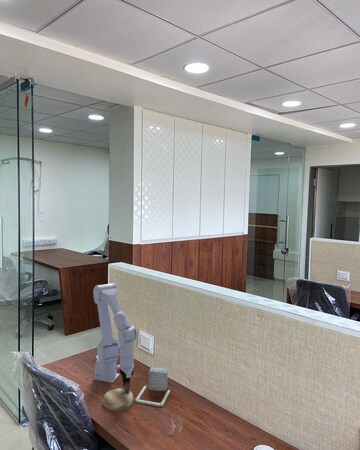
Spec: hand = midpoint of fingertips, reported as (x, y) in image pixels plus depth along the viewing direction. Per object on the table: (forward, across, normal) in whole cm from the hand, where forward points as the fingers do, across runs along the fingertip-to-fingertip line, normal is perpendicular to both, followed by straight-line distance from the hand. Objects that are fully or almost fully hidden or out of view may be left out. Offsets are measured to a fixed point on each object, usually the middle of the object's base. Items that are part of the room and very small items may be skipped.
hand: (126, 385), depth 156 cm
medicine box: (+4, -1, +14) cm, 15 cm away
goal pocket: (+3, +5, +11) cm, 13 cm away
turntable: (+3, +6, -4) cm, 8 cm away
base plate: (+3, +6, -4) cm, 8 cm away
